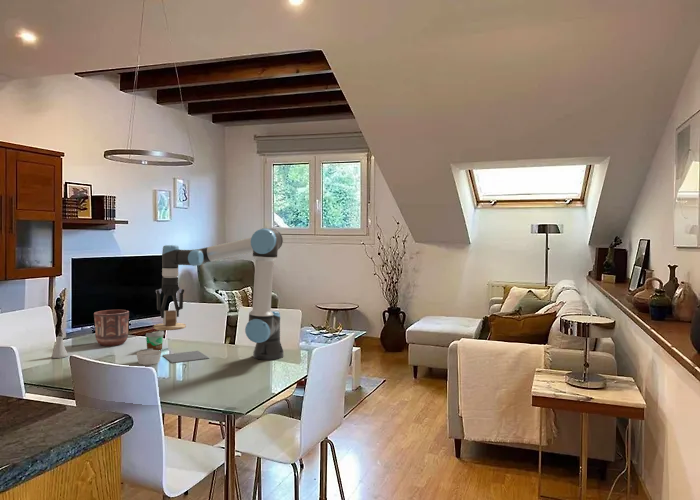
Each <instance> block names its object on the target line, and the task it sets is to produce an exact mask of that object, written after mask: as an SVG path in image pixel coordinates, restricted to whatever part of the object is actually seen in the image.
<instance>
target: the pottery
mask: <svg viewBox="0 0 700 500" xmlns="http://www.w3.org/2000/svg"><path fill="white" fill-rule="evenodd" d="M93 318H94V319H93V320H94V330H95V331H94V332H95V335H94V336H95V340H96V342H97V343H98V344H99V345H100V346H102V347H117V346H122V345H123V344H125V343H126V341H127V340H128V338H129V320H130V319H129V318H130V311H129V310H128V309H127V310H126V309H106V310H99V311H95V312H94V313H93Z"/></svg>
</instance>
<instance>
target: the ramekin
mask: <svg viewBox="0 0 700 500" xmlns="http://www.w3.org/2000/svg"><path fill="white" fill-rule="evenodd" d="M161 354H162V350H160V351H159V350H147V349H146V350H140V351H137V352H136V357H137V363H138V364H139V365H141V364H143V365H142V366H152V364H153V365H157V364H159V362H160V361H161Z"/></svg>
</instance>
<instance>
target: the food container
mask: <svg viewBox="0 0 700 500" xmlns="http://www.w3.org/2000/svg"><path fill="white" fill-rule="evenodd" d="M164 336H165V330H156V331H151V332H146V333H145V339H146V350H160V351H162V350H163V341H164ZM161 349H162V350H161Z"/></svg>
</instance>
